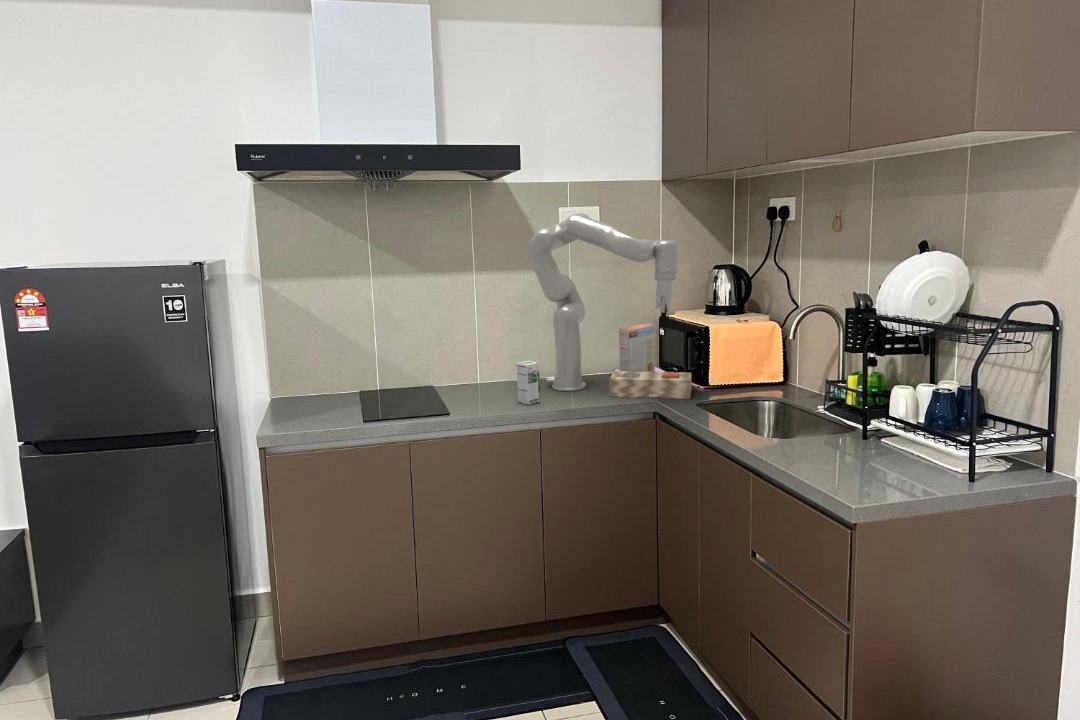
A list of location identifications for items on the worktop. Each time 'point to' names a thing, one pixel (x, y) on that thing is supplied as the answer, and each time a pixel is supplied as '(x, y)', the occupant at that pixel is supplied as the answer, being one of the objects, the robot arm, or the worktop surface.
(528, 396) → the syrup box
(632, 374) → the grey cube
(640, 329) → the cracker box
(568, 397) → the worktop surface
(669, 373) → the red cube
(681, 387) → the beige woven basket
